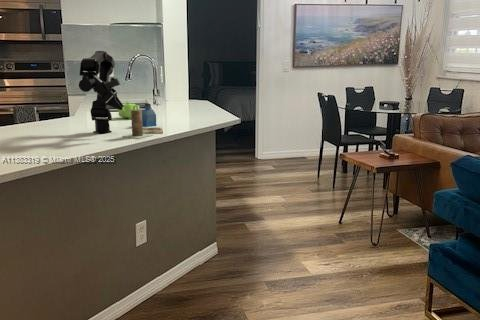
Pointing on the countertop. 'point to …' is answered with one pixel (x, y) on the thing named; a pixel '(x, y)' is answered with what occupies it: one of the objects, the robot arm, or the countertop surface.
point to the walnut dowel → (136, 122)
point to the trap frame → (153, 131)
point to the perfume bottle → (148, 116)
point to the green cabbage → (127, 110)
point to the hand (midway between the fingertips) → (122, 108)
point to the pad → (137, 136)
